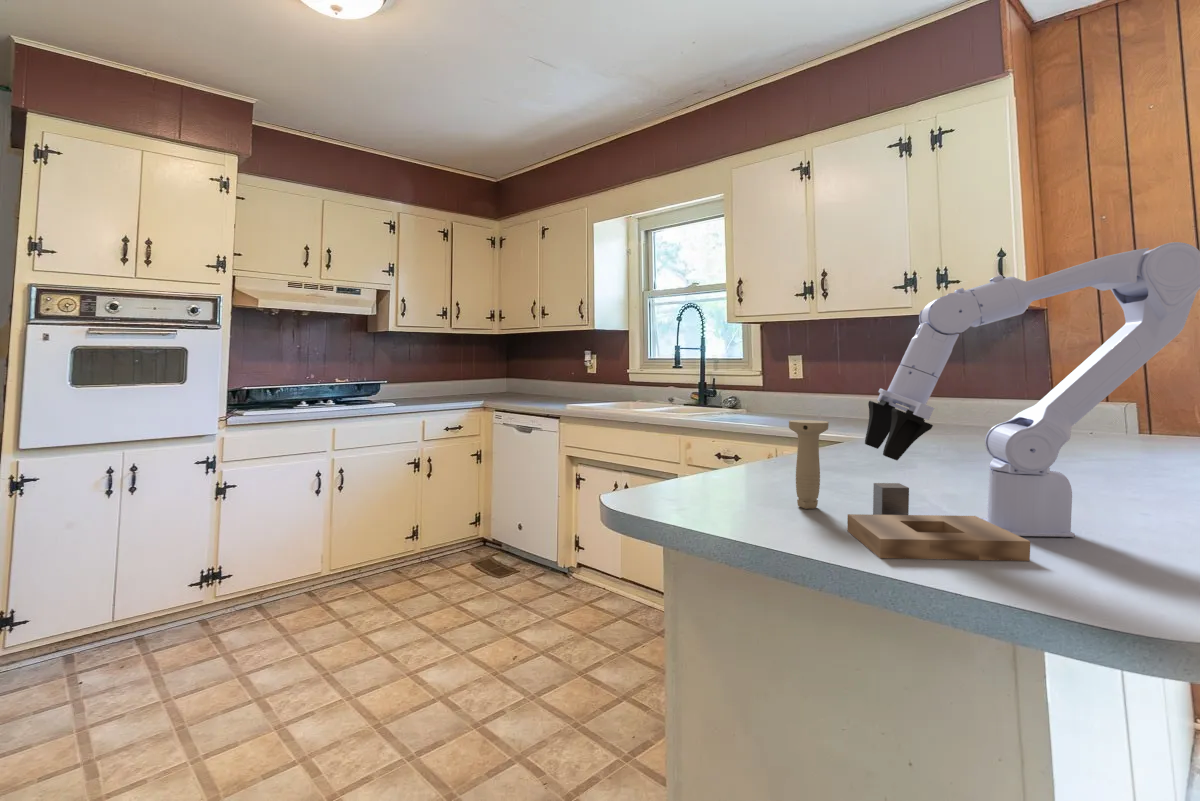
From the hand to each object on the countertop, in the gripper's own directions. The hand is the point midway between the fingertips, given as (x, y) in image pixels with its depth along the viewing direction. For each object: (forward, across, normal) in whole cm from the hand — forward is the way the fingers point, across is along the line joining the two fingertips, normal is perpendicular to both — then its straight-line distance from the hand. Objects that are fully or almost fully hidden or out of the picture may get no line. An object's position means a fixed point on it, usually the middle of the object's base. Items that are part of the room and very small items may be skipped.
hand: (880, 451), depth 89 cm
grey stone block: (+10, 0, +6) cm, 11 cm away
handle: (+14, -7, -4) cm, 16 cm away
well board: (+8, +13, +6) cm, 17 cm away
